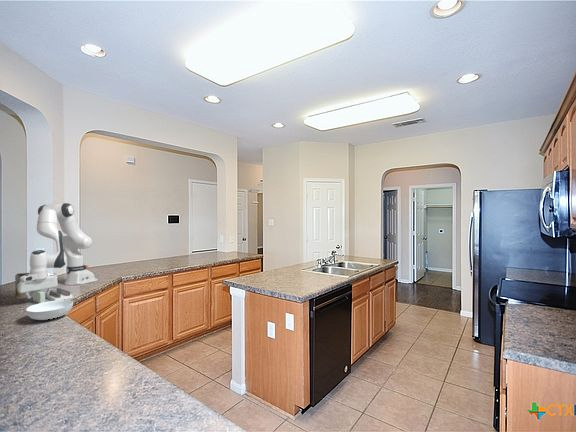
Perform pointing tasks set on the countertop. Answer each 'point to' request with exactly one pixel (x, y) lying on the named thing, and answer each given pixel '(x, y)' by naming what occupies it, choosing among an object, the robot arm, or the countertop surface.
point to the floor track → (59, 294)
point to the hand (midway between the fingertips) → (38, 296)
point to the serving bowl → (49, 309)
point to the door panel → (39, 296)
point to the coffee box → (17, 280)
